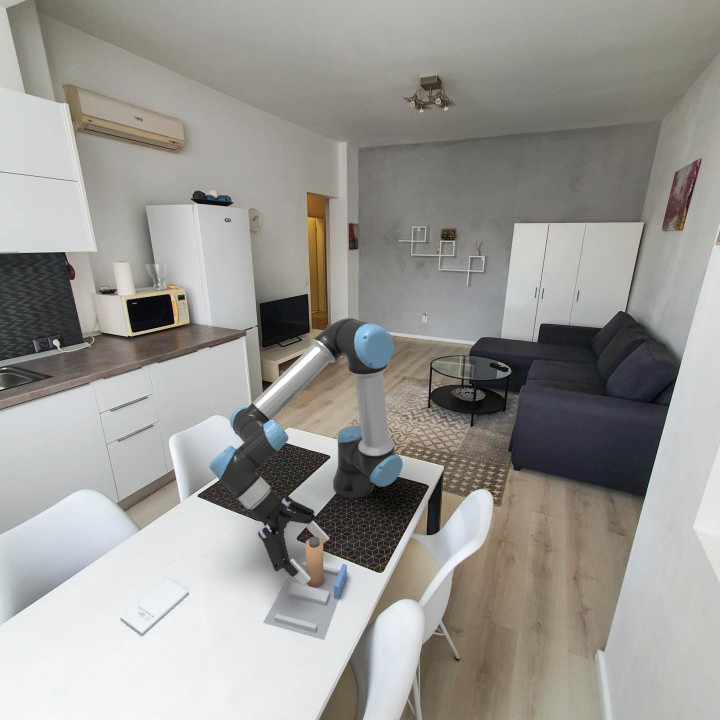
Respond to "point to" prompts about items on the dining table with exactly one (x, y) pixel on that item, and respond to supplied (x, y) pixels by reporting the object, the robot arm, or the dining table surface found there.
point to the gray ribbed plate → (308, 603)
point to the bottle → (314, 562)
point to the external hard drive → (154, 606)
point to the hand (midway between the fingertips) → (316, 560)
